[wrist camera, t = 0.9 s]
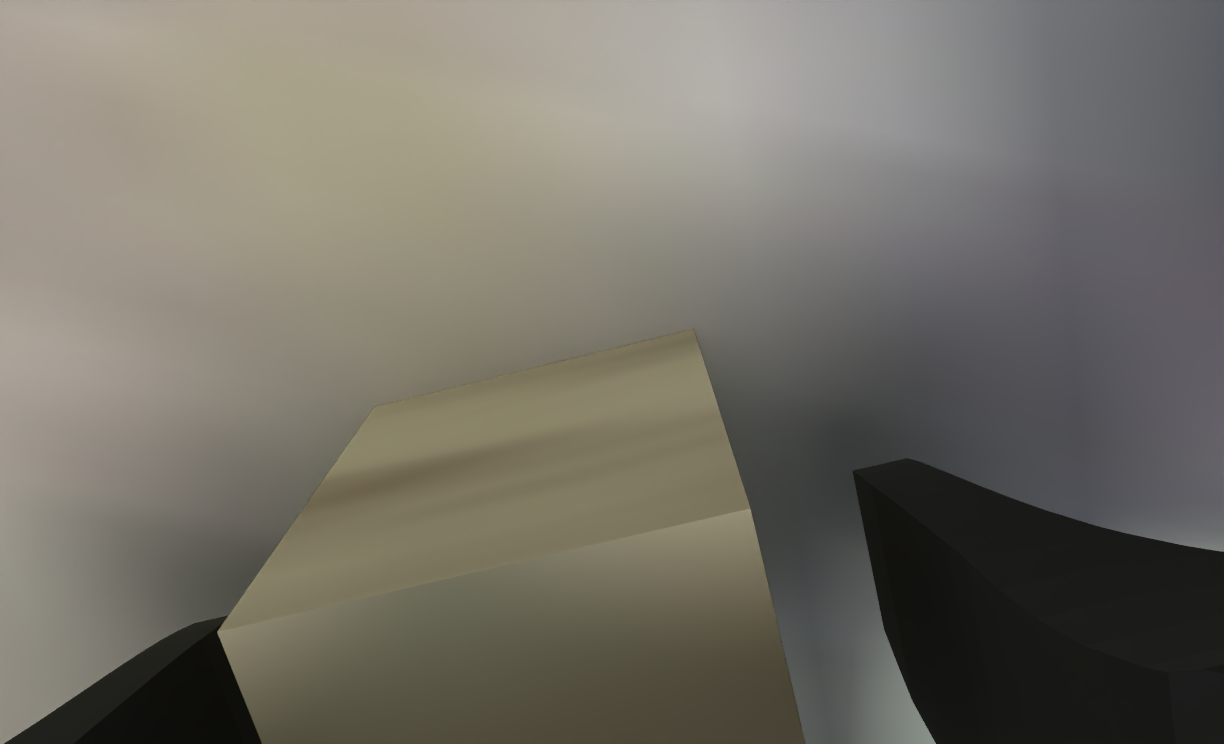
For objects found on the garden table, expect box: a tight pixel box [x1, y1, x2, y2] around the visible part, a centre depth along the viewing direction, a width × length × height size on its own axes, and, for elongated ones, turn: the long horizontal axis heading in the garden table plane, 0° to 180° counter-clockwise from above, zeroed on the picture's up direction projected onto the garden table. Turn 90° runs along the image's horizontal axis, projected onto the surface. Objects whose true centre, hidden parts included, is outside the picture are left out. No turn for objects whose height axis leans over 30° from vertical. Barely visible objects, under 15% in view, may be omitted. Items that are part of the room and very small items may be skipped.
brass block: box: [217, 329, 805, 744], centre depth 12 cm, size 4×4×6 cm
